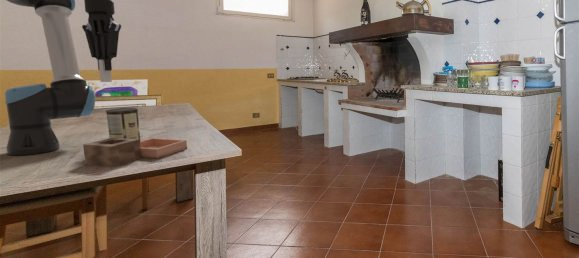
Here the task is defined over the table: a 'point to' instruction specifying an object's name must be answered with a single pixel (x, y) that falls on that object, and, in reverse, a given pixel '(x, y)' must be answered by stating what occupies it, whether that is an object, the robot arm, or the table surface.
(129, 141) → the brown square planter
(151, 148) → the dish
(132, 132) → the coffee can
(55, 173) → the table surface
